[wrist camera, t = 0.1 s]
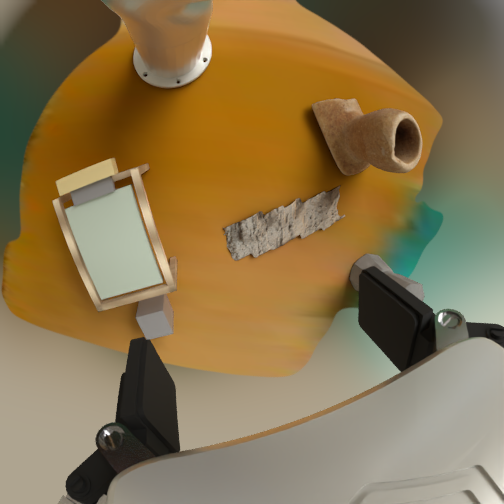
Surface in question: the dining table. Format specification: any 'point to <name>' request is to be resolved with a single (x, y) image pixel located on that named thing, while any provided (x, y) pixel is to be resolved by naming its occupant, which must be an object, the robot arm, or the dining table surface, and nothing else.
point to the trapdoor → (109, 231)
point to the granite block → (155, 316)
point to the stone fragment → (282, 225)
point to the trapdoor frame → (167, 269)
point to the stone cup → (368, 137)
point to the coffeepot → (376, 261)
